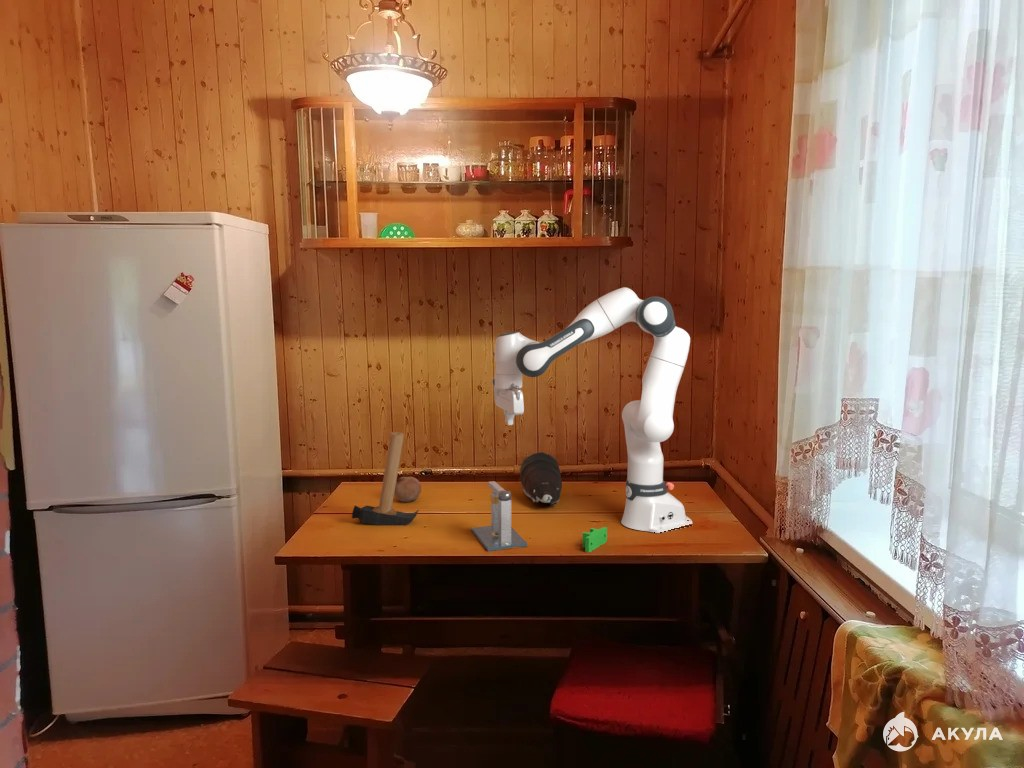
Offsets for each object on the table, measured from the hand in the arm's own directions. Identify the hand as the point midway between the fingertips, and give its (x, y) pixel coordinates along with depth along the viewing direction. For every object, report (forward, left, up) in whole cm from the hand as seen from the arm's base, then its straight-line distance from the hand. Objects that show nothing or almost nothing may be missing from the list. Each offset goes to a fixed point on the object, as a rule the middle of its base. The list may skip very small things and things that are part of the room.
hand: (509, 424), depth 229 cm
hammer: (+40, -5, -31) cm, 51 cm away
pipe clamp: (-14, +34, -31) cm, 48 cm away
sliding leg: (+10, +19, -29) cm, 36 cm away
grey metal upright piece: (+10, +21, -30) cm, 37 cm away
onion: (+29, -26, -31) cm, 50 cm away
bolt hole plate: (+10, +20, -31) cm, 38 cm away
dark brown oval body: (-16, -11, -31) cm, 36 cm away
